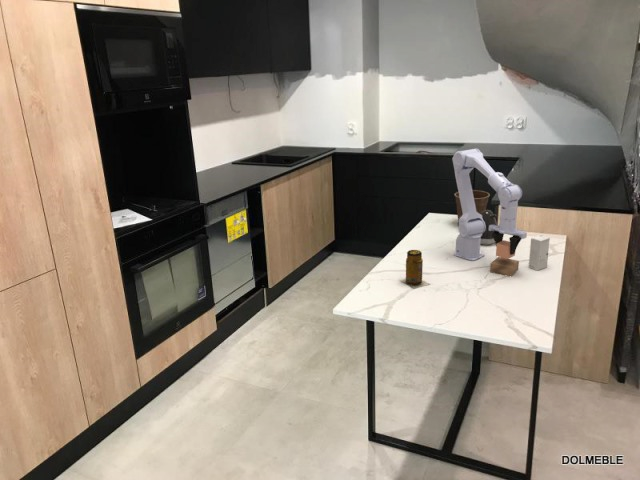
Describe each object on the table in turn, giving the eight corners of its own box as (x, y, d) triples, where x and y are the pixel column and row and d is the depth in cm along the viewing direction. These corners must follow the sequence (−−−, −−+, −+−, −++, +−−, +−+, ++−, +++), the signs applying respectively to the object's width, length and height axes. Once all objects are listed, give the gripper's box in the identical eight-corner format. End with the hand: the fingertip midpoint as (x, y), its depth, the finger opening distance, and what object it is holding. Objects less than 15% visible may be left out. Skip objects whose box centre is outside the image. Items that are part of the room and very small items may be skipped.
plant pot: (454, 231, 241) (456, 198, 236) (451, 221, 256) (453, 190, 251) (490, 231, 239) (492, 198, 233) (485, 221, 254) (487, 189, 248)
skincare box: (538, 270, 193) (541, 241, 189) (527, 267, 196) (530, 238, 192) (547, 267, 196) (550, 237, 192) (537, 263, 199) (540, 234, 195)
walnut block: (489, 272, 194) (490, 263, 193) (497, 266, 200) (498, 256, 198) (510, 277, 189) (511, 267, 188) (518, 270, 195) (518, 260, 194)
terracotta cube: (495, 255, 193) (496, 243, 191) (503, 252, 195) (504, 240, 194) (507, 259, 189) (508, 246, 187) (514, 255, 192) (515, 243, 190)
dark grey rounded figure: (485, 248, 218) (487, 214, 213) (468, 242, 226) (469, 209, 221) (502, 244, 222) (505, 210, 217) (485, 237, 231) (487, 205, 226)
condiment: (416, 276, 193) (416, 247, 189) (430, 284, 186) (430, 254, 182) (400, 280, 190) (400, 251, 186) (413, 288, 183) (414, 258, 179)
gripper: (484, 216, 190) (482, 250, 195) (520, 224, 179) (517, 259, 184) (495, 212, 194) (493, 245, 199) (531, 219, 184) (527, 254, 188)
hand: (505, 252), depth 192 cm, fingers closed on terracotta cube, 5 cm apart
